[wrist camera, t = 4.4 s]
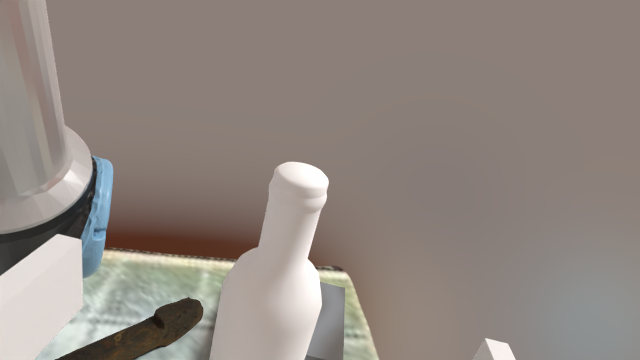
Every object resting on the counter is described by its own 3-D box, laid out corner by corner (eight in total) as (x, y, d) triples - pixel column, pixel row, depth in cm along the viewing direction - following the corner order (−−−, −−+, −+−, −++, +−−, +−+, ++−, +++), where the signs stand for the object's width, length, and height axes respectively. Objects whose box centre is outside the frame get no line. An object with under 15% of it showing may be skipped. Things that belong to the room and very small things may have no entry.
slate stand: (226, 363, 45) (231, 336, 43) (252, 289, 56) (257, 266, 55) (333, 389, 45) (342, 363, 43) (337, 310, 57) (344, 288, 55)
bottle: (268, 401, 42) (339, 154, 29) (282, 483, 35) (381, 208, 23) (192, 411, 39) (235, 141, 26) (191, 502, 32) (248, 199, 20)
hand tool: (26, 427, 34) (22, 394, 32) (15, 393, 37) (11, 360, 35) (211, 335, 48) (216, 308, 46) (195, 315, 50) (200, 288, 48)
